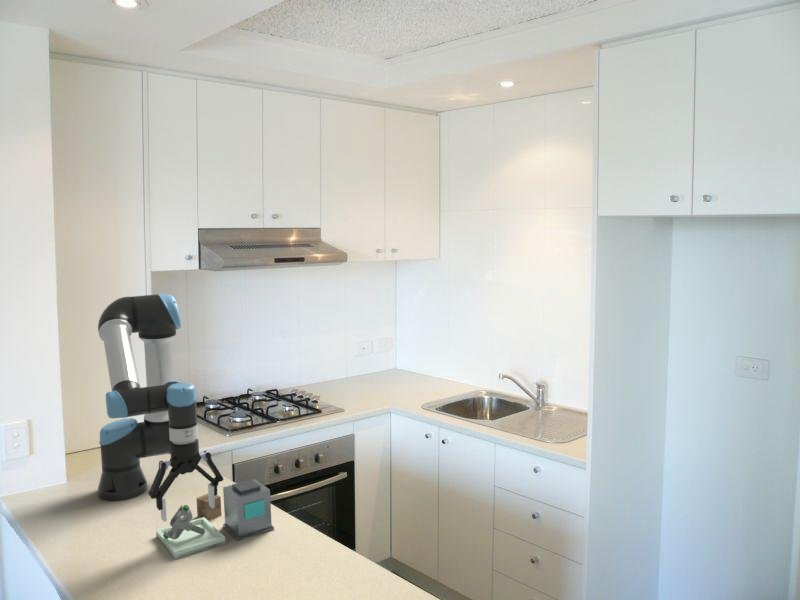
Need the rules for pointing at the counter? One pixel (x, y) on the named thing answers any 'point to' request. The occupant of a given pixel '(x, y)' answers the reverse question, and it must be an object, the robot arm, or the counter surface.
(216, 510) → the walnut block
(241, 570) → the counter surface
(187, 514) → the mechanical component
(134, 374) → the robot arm
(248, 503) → the unit
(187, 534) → the tray
